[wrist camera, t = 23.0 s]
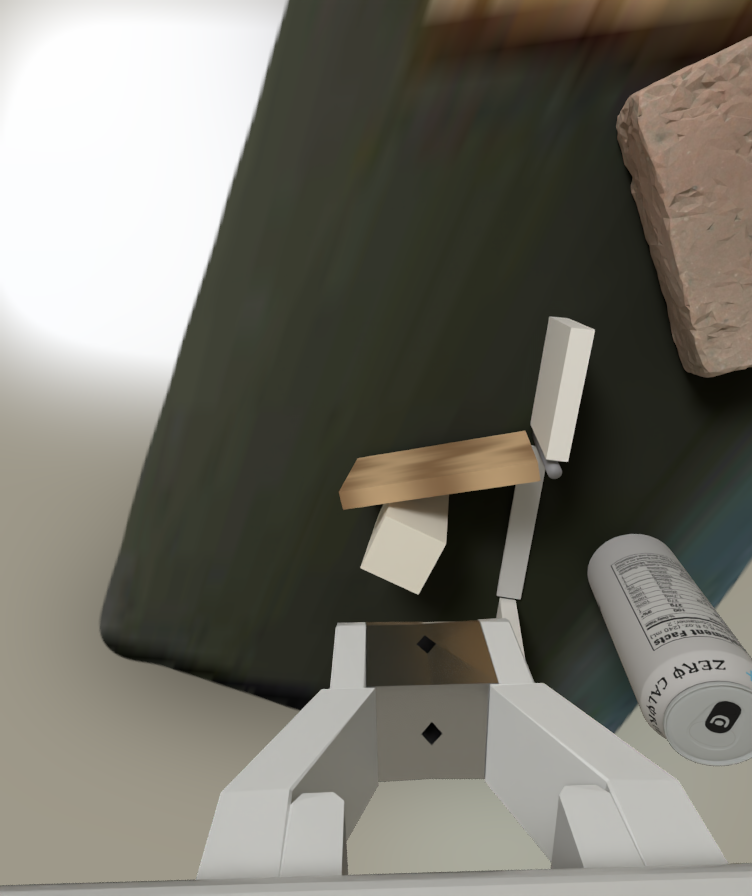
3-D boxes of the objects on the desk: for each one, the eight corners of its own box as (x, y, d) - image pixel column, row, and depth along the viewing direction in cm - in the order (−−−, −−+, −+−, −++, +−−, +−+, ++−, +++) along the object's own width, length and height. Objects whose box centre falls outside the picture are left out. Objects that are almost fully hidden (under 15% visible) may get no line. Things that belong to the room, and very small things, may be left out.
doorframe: (544, 316, 35) (565, 327, 28) (573, 318, 35) (601, 330, 28) (483, 666, 44) (487, 741, 37) (506, 670, 44) (514, 746, 37)
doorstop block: (399, 470, 40) (385, 515, 33) (449, 492, 40) (446, 543, 33) (378, 514, 42) (360, 567, 34) (426, 536, 42) (418, 594, 34)
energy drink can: (572, 586, 41) (630, 752, 27) (603, 517, 39) (683, 657, 25) (651, 610, 41) (751, 791, 26) (686, 542, 39) (816, 698, 24)
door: (525, 430, 37) (537, 461, 31) (529, 460, 38) (542, 496, 32) (357, 458, 40) (338, 492, 34) (364, 485, 40) (346, 524, 34)
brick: (821, 327, 34) (876, 335, 29) (678, 376, 36) (709, 390, 31) (761, 41, 30) (814, 0, 25) (606, 114, 32) (629, 88, 27)
